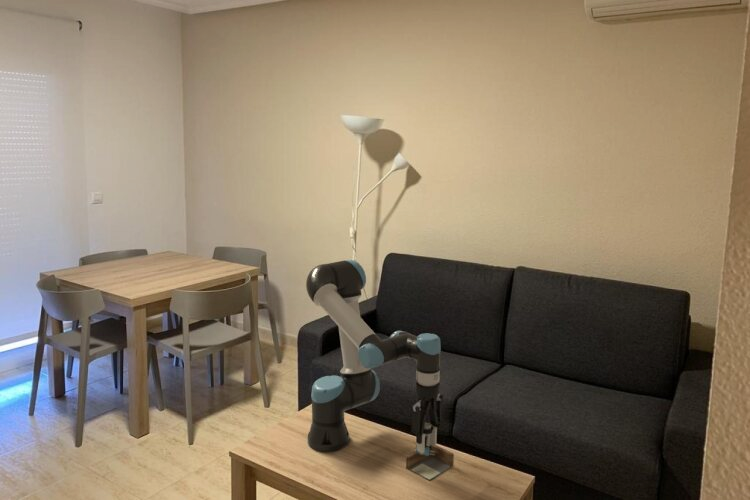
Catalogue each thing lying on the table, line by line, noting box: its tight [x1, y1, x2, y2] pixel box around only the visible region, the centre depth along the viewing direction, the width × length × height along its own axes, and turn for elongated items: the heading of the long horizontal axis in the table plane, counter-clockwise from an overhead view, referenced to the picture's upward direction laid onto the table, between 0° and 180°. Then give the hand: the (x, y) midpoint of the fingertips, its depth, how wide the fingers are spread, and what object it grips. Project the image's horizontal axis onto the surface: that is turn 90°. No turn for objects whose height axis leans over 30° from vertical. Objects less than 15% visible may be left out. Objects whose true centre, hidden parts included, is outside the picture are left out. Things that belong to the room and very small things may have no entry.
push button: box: [414, 421, 435, 456], centre depth 195 cm, size 7×5×10 cm
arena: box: [405, 444, 455, 482], centre depth 201 cm, size 10×13×4 cm
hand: (426, 447), depth 196 cm, fingers closed on push button, 5 cm apart
